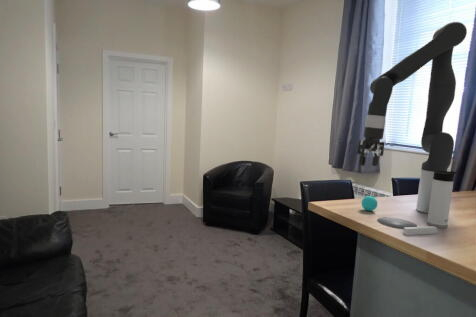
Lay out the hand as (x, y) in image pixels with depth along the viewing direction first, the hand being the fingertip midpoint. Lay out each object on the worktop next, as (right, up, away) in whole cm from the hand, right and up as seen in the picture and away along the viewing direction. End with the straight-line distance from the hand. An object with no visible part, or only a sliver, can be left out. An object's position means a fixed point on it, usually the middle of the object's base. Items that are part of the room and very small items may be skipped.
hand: (368, 165), depth 141 cm
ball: (-1, -15, -5) cm, 16 cm away
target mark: (+3, -20, -20) cm, 28 cm away
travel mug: (+17, -21, -20) cm, 34 cm away
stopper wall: (+6, -22, -30) cm, 37 cm away
